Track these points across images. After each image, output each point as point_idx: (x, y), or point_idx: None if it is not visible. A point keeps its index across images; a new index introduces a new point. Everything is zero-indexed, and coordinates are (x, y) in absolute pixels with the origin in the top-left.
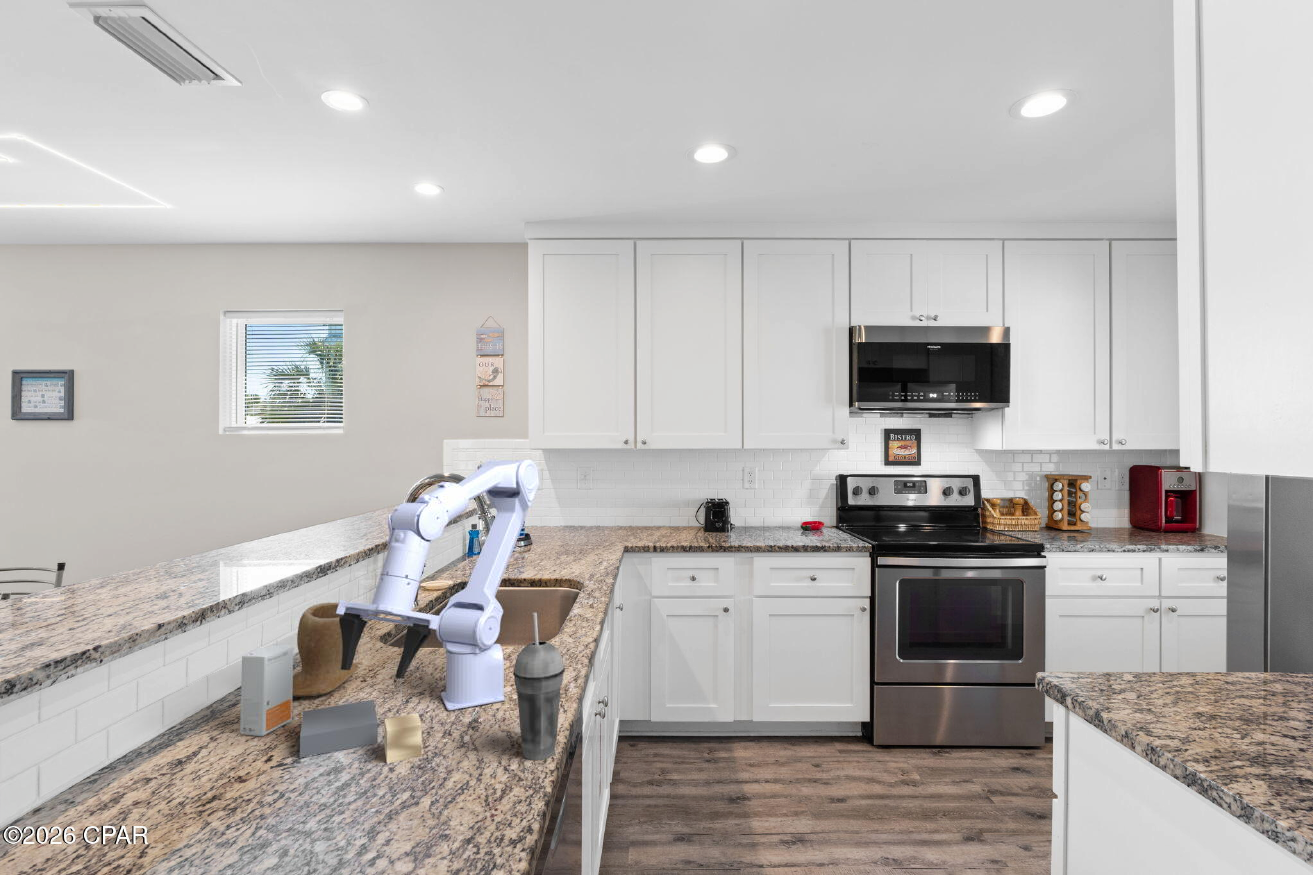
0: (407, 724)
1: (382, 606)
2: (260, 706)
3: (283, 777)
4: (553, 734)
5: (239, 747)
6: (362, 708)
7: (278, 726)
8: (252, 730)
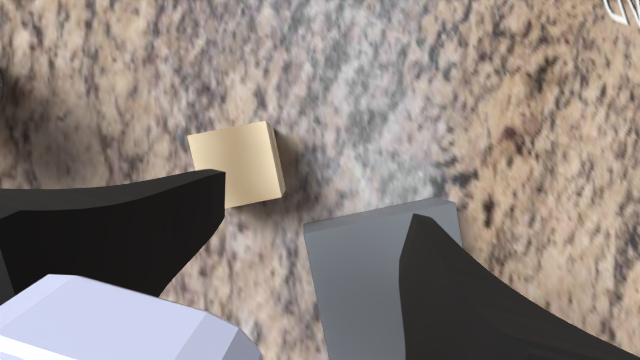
0: (222, 146)
1: (113, 356)
2: None
3: (446, 125)
4: None
5: (552, 277)
6: (350, 329)
7: None
8: None
